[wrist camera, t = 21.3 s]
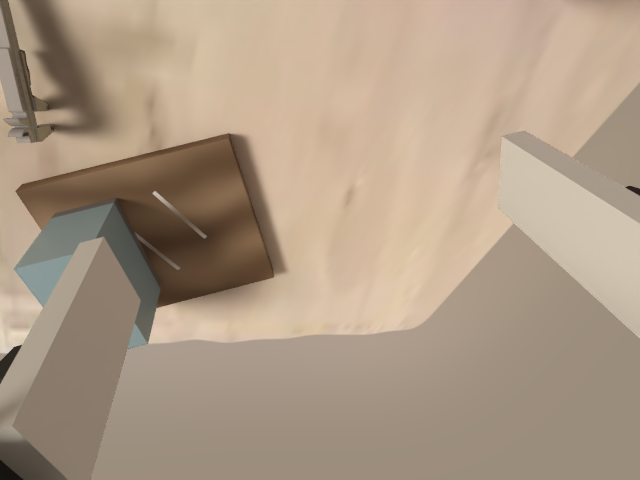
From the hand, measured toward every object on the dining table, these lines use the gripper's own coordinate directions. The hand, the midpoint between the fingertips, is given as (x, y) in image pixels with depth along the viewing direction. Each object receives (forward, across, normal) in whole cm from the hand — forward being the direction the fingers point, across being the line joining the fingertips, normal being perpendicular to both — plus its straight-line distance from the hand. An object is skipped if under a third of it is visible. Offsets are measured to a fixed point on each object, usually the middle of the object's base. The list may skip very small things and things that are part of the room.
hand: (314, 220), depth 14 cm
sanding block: (+27, -20, -14) cm, 37 cm away
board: (+29, -15, -14) cm, 35 cm away
